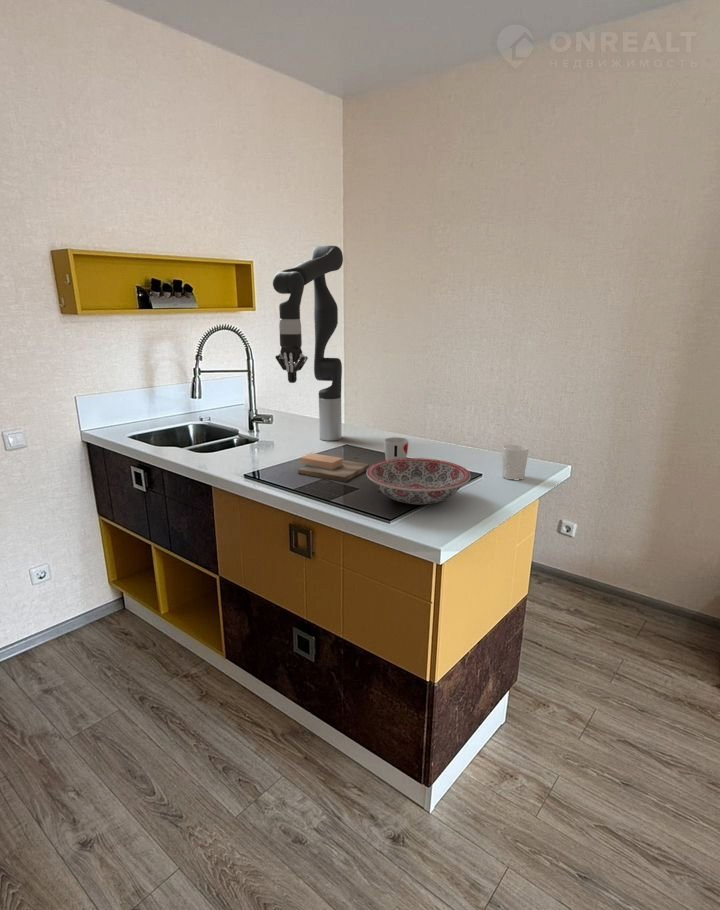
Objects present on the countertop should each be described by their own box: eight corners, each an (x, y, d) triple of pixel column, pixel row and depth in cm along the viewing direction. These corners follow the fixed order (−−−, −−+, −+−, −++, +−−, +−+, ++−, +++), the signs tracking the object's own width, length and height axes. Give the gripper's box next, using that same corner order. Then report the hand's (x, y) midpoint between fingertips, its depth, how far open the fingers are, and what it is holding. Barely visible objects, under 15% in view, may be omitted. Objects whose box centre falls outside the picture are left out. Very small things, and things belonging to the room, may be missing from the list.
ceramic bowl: (469, 522, 133) (470, 492, 131) (357, 514, 138) (356, 485, 136) (469, 485, 160) (470, 460, 158) (375, 479, 166) (375, 455, 164)
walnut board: (324, 461, 186) (324, 457, 185) (369, 468, 177) (369, 464, 177) (298, 473, 172) (298, 469, 172) (344, 481, 164) (344, 477, 163)
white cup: (522, 482, 163) (524, 451, 160) (497, 478, 167) (499, 448, 164) (528, 476, 169) (531, 446, 166) (504, 472, 173) (506, 443, 170)
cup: (391, 473, 172) (392, 444, 169) (379, 467, 179) (379, 438, 176) (412, 470, 176) (413, 441, 173) (399, 464, 182) (400, 436, 180)
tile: (311, 453, 182) (342, 458, 176) (311, 459, 183) (342, 465, 176) (300, 457, 177) (332, 462, 170) (300, 464, 177) (332, 469, 171)
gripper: (312, 332, 181) (313, 382, 186) (281, 331, 188) (283, 380, 192) (299, 333, 175) (301, 385, 180) (268, 332, 181) (271, 382, 186)
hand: (292, 382), depth 186 cm, fingers closed
